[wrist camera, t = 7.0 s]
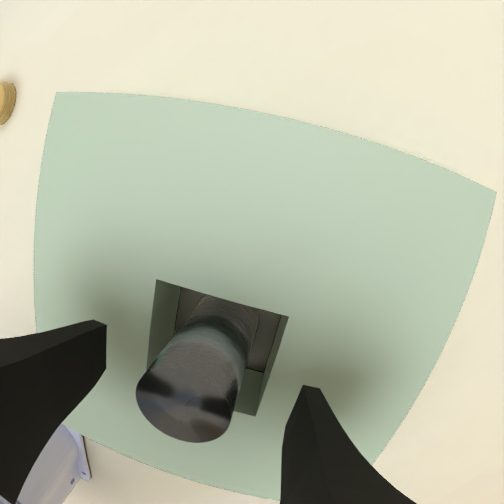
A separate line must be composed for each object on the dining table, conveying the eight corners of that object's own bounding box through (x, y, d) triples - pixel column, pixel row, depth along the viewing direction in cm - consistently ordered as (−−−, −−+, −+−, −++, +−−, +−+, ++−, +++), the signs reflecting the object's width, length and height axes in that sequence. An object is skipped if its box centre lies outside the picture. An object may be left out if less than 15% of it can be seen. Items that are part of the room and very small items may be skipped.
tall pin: (250, 350, 16) (221, 452, 9) (193, 334, 16) (134, 423, 9) (265, 297, 15) (240, 387, 8) (203, 280, 15) (137, 354, 8)
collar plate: (334, 466, 17) (337, 507, 13) (77, 389, 18) (50, 417, 15) (456, 187, 12) (496, 192, 9) (98, 104, 14) (56, 92, 10)
